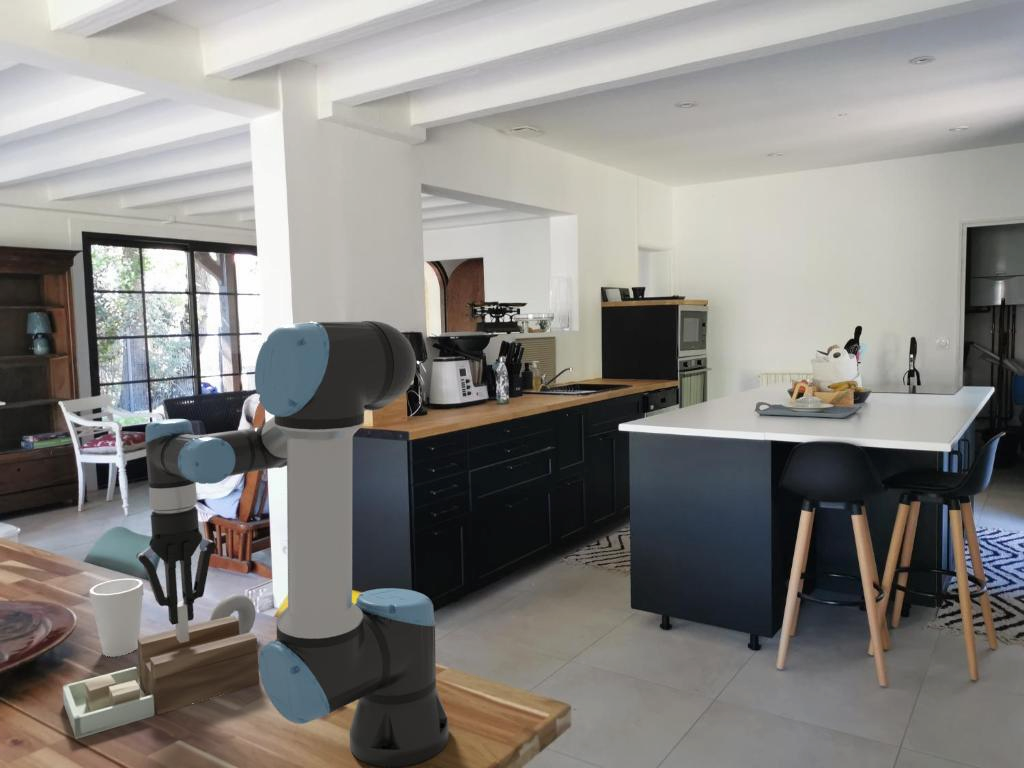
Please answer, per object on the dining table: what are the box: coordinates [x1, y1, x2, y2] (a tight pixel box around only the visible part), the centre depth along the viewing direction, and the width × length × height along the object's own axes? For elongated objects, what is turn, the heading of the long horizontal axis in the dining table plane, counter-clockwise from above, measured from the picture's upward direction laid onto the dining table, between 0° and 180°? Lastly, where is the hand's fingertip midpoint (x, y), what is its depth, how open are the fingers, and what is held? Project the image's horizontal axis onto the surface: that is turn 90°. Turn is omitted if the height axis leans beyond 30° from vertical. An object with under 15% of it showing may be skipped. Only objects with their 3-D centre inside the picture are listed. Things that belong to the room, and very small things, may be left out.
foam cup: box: [89, 578, 145, 658], centre depth 154 cm, size 10×9×13 cm
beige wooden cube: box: [109, 680, 141, 707], centre depth 129 cm, size 4×4×4 cm
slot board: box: [137, 614, 260, 715], centre depth 139 cm, size 14×17×8 cm
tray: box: [62, 666, 155, 740], centre depth 131 cm, size 14×12×3 cm
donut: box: [209, 593, 256, 635], centre depth 156 cm, size 10×4×10 cm, turn 146°
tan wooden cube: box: [84, 675, 116, 712], centre depth 131 cm, size 4×4×4 cm
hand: (182, 639), depth 137 cm, fingers closed
